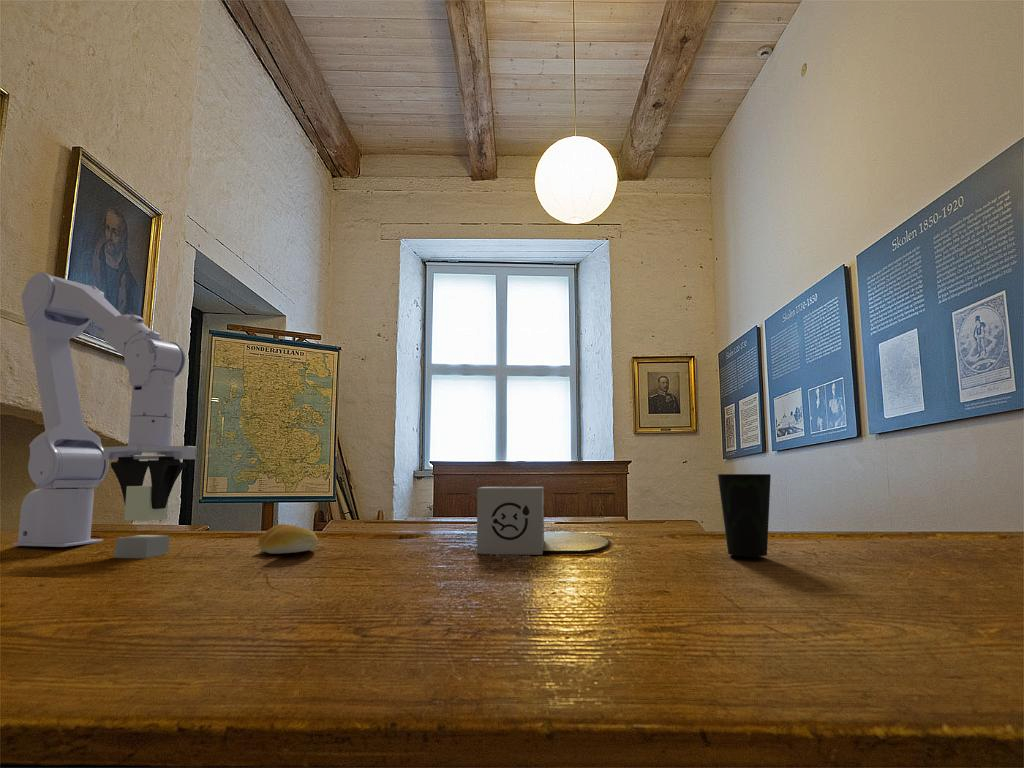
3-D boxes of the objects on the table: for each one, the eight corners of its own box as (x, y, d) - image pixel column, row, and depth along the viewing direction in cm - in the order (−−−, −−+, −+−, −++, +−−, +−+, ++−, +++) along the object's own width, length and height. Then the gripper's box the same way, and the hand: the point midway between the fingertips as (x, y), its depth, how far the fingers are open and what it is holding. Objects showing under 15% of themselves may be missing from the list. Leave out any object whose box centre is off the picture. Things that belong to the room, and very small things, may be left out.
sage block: (124, 520, 100) (126, 486, 101) (144, 518, 104) (146, 485, 104) (147, 520, 99) (150, 486, 100) (167, 519, 103) (169, 485, 104)
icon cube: (544, 547, 113) (543, 486, 114) (542, 554, 103) (541, 488, 104) (484, 547, 114) (484, 486, 115) (476, 554, 104) (477, 488, 105)
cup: (773, 552, 105) (769, 474, 107) (775, 558, 98) (771, 474, 100) (721, 550, 108) (718, 474, 109) (719, 556, 100) (716, 474, 102)
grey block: (114, 559, 98) (116, 537, 99) (138, 555, 103) (139, 534, 104) (145, 560, 98) (147, 538, 98) (168, 555, 103) (169, 535, 103)
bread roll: (273, 555, 97) (272, 527, 98) (252, 552, 104) (252, 526, 105) (327, 549, 102) (327, 522, 103) (304, 546, 109) (304, 521, 110)
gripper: (89, 416, 101) (82, 509, 99) (175, 414, 98) (169, 510, 96) (125, 420, 108) (119, 507, 106) (206, 418, 105) (201, 507, 103)
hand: (145, 508), depth 101 cm, fingers closed on sage block, 4 cm apart
